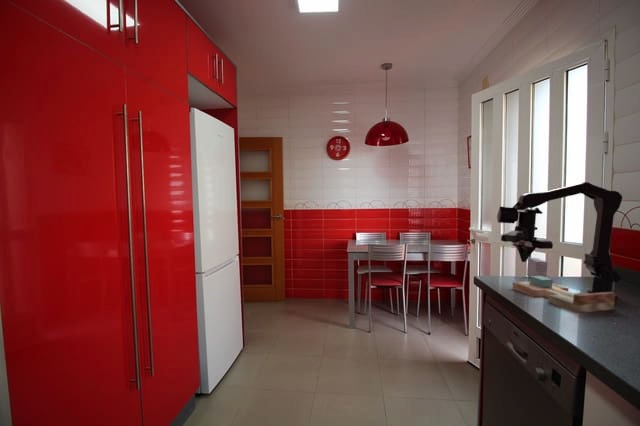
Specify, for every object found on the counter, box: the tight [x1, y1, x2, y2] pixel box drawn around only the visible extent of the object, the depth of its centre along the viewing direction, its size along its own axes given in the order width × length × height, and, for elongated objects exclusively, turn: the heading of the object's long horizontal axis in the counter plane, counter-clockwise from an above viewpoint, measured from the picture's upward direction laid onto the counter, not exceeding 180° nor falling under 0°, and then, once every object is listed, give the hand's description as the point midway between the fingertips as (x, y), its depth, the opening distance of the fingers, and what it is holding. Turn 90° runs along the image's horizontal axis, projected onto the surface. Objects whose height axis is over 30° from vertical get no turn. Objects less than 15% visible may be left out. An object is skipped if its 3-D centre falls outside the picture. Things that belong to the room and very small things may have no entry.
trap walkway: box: [511, 280, 616, 314], centre depth 109 cm, size 16×24×6 cm, turn 14°
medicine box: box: [526, 257, 548, 278], centre depth 134 cm, size 8×4×9 cm, turn 168°
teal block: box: [529, 276, 554, 288], centre depth 116 cm, size 5×5×3 cm
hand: (523, 261), depth 123 cm, fingers closed
